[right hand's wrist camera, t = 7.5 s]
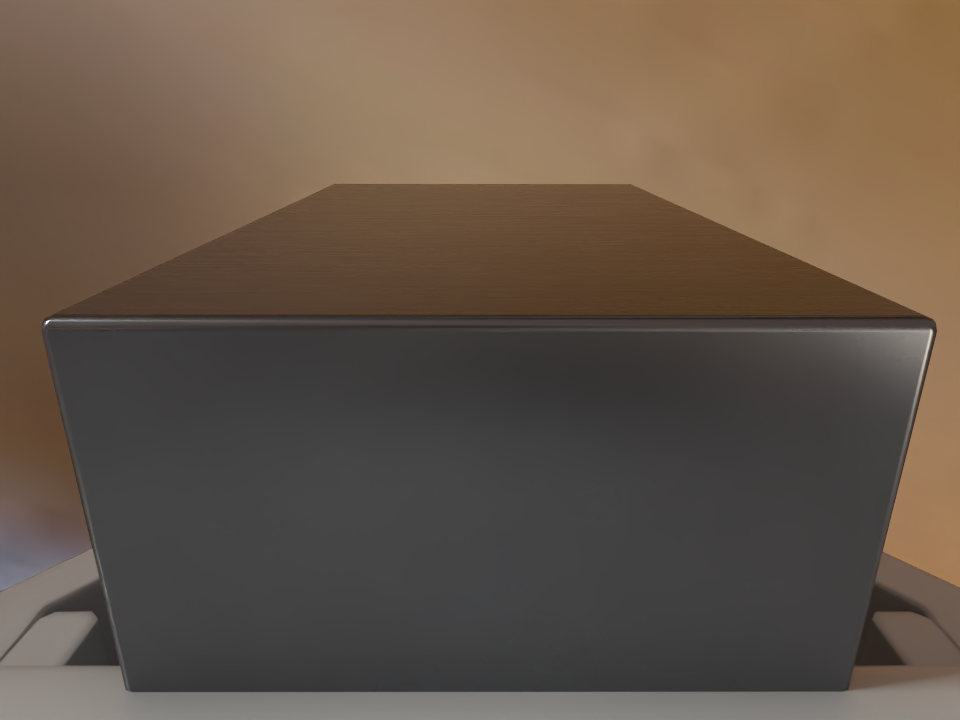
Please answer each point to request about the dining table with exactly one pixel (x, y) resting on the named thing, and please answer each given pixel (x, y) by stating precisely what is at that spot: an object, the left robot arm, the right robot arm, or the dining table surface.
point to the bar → (487, 449)
